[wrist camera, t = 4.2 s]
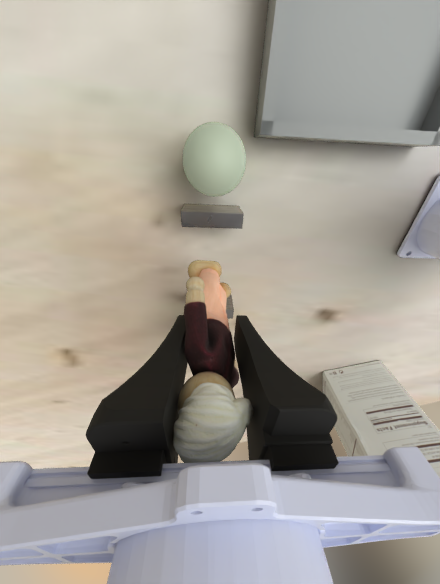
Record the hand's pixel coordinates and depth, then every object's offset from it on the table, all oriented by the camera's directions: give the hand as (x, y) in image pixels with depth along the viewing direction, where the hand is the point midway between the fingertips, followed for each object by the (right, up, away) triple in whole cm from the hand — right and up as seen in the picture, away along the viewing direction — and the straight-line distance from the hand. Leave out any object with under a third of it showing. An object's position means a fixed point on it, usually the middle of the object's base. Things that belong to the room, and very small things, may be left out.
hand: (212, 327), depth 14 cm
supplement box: (+22, -13, +22) cm, 34 cm away
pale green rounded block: (0, +13, +4) cm, 14 cm away
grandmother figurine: (0, +3, +5) cm, 6 cm away
